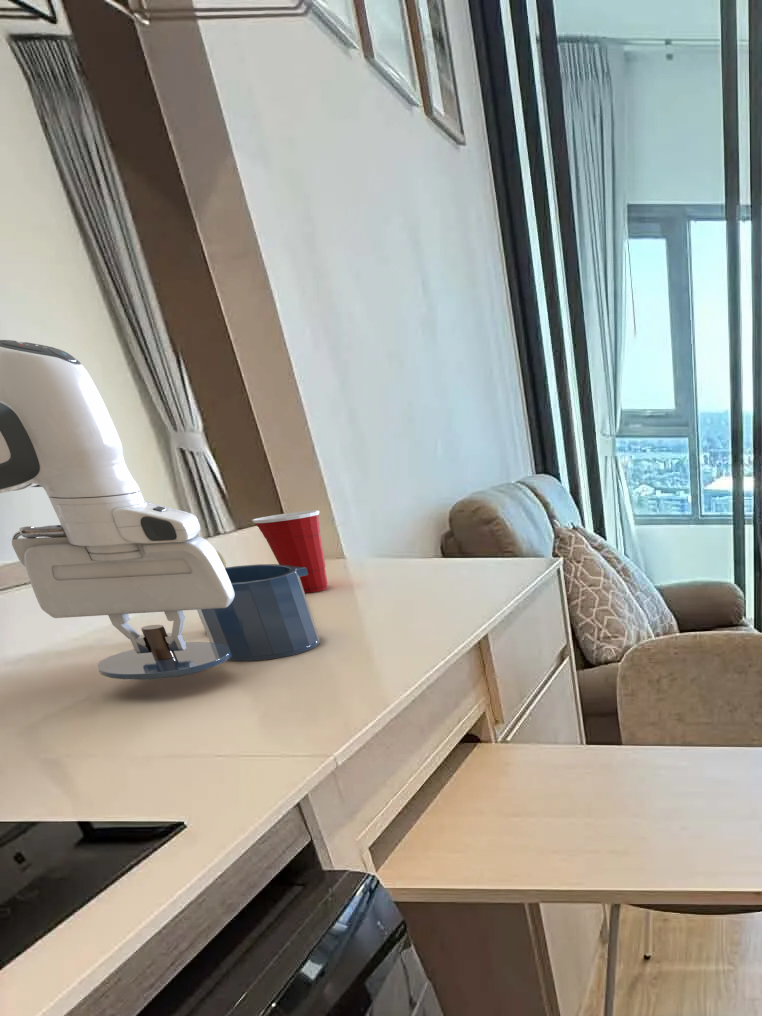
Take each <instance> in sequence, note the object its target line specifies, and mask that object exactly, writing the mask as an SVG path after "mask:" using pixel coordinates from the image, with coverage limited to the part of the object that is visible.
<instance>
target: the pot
mask: <svg viewBox="0 0 762 1016" xmlns="http://www.w3.org/2000/svg"><path fill="white" fill-rule="evenodd" d="M225 570H226V572H227V574H228V577H229V579H230V581H231V584H232V587H233V589H234V593H235V596H234V599H233V601H232V603H231V604H230V605H229V606H228V607H226V608H214V609H198V610H196V611H197V614H198V616H199V619H200V621H201V624H202V626H203V629H204V631H205V633H206V636H207V638H208V642H211V643H218V644H222V645H225V646H227V647H229V648H230V651H231V654H232V655H231V657H230V658H229V659H228V660H227V661H232V662H233V661H234V662H254V661H255V662H256V661H268V660H274V659H280V658H285V657H291V656H295V655H299V654H302V653H305V652H308V651H310V650H313V649H314V648H316V647H317V646H318V645H319V644H320V642H321V641H320V635H319V632H318V629H317V626H316V623H315V619H314V618H313V614H312V611H311V608H310V605H309V602H308V599H307V596H306V593H305V592H304V589H303V586H302V583H301V580H300V577H301V576H306V575H308V573H307V570H306V567H296V566H293V567H292V566H290V565H279V563H277V564H276V563H275V564H273V563H272V564H271V563H269V564H268V563H267V564H263V563H262V564H259V563H258V564H247V565H237V566H236V565H235V566H226V568H225Z"/></svg>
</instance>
